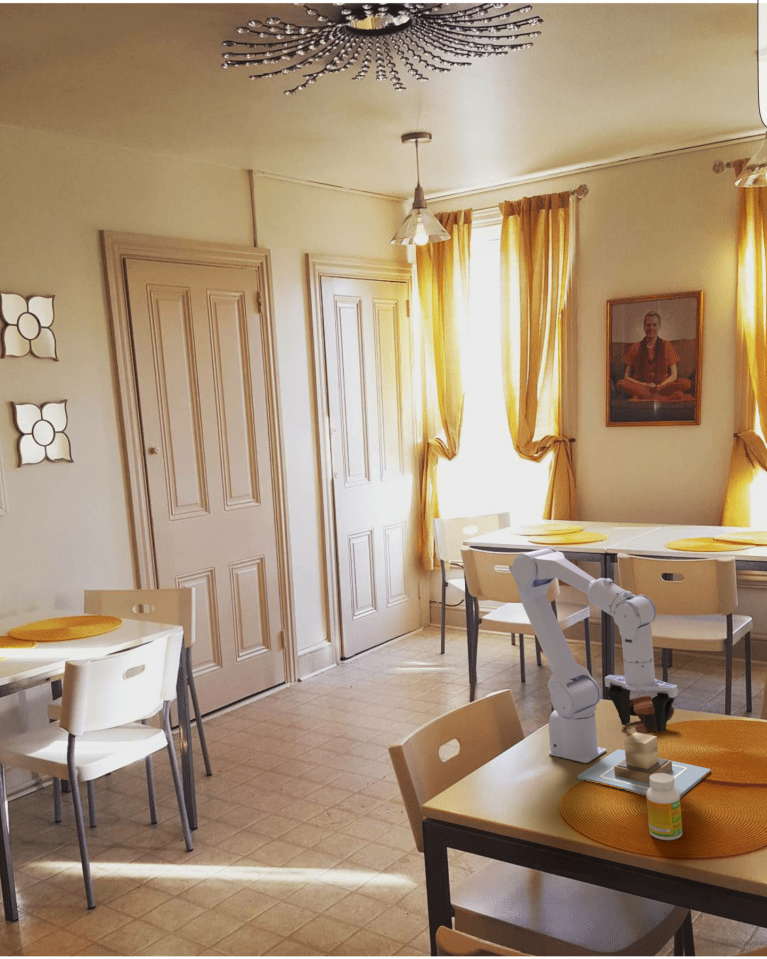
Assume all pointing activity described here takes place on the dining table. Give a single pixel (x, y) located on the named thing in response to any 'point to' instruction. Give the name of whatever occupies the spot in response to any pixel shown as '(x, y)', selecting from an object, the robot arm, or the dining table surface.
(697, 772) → the board
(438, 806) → the dining table surface
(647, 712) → the pottery mug
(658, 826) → the supplement bottle
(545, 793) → the dining table surface
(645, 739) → the oak block
